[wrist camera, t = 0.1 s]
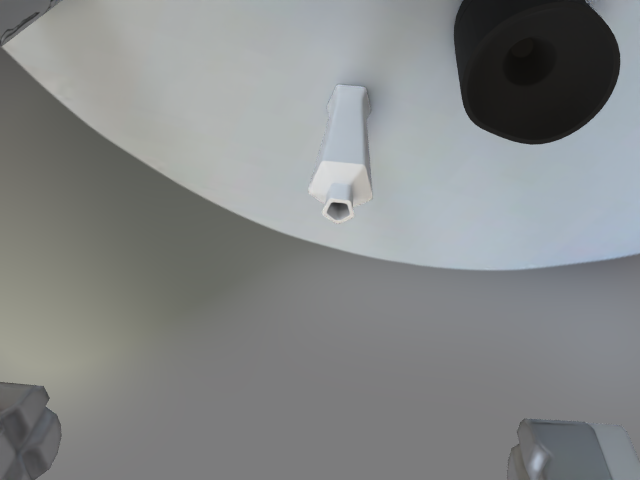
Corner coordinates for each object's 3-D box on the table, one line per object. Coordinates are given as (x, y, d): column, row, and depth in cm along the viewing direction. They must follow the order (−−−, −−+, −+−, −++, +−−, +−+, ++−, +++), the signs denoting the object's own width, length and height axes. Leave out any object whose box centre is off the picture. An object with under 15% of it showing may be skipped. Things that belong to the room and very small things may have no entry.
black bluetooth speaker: (470, 99, 47) (486, 165, 39) (430, -6, 42) (440, 47, 34) (588, 51, 43) (631, 114, 36) (561, -70, 38) (605, -26, 31)
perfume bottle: (388, 101, 47) (389, 209, 36) (353, 134, 50) (344, 245, 39) (347, 67, 46) (335, 168, 35) (314, 103, 48) (292, 209, 37)
